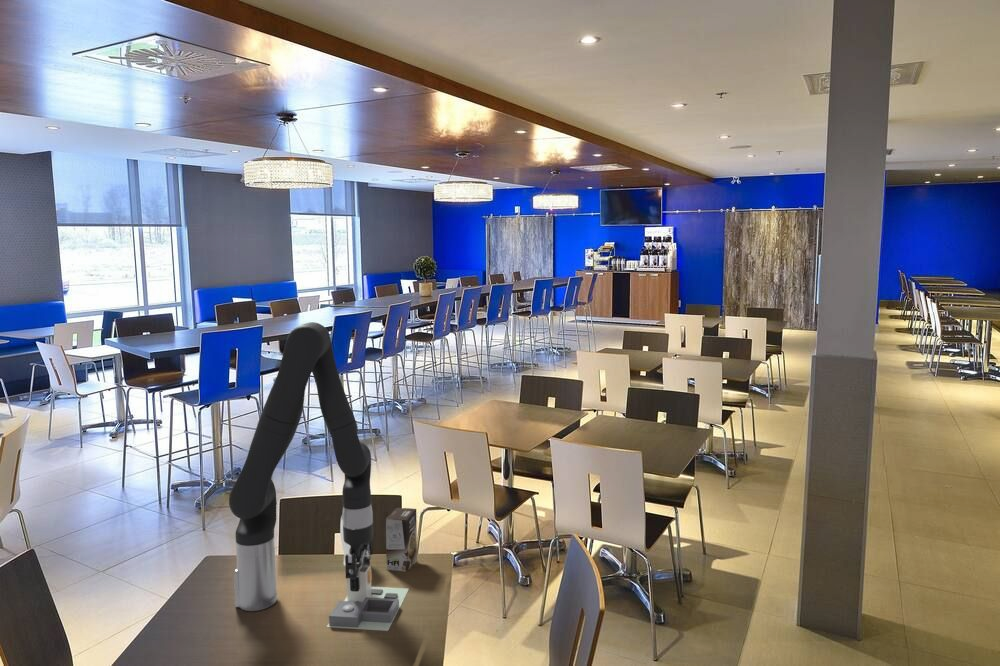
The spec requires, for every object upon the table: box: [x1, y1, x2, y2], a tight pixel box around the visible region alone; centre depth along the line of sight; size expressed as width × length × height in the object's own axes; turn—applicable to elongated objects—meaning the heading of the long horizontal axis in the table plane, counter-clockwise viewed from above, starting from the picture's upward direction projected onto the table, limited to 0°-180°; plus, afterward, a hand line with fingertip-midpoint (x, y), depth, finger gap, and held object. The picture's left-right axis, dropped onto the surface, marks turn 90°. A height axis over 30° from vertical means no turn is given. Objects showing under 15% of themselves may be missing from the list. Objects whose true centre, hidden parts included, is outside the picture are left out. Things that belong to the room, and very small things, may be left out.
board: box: [326, 586, 410, 632], centre depth 166 cm, size 15×20×3 cm
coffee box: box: [385, 507, 418, 573], centre depth 189 cm, size 9×6×16 cm
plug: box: [346, 563, 373, 602], centre depth 170 cm, size 6×4×8 cm
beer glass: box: [339, 515, 359, 567], centre depth 190 cm, size 7×7×15 cm
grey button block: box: [328, 600, 367, 628], centre depth 163 cm, size 7×11×3 cm, turn 174°
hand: (360, 582), depth 170 cm, fingers open, 8 cm apart
